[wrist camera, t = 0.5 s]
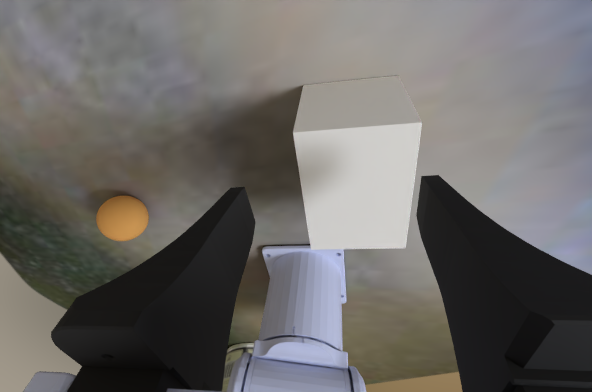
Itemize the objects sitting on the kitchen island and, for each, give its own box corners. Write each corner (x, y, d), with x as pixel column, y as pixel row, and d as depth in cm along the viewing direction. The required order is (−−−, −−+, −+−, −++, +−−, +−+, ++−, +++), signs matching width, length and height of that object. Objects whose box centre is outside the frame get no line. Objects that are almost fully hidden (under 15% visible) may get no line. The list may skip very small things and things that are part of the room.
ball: (163, 218, 29) (143, 250, 26) (125, 219, 30) (102, 251, 27) (144, 185, 27) (120, 216, 24) (104, 187, 27) (75, 217, 24)
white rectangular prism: (390, 185, 24) (405, 248, 19) (315, 188, 25) (311, 249, 20) (398, 75, 19) (422, 122, 14) (303, 85, 20) (292, 132, 15)
